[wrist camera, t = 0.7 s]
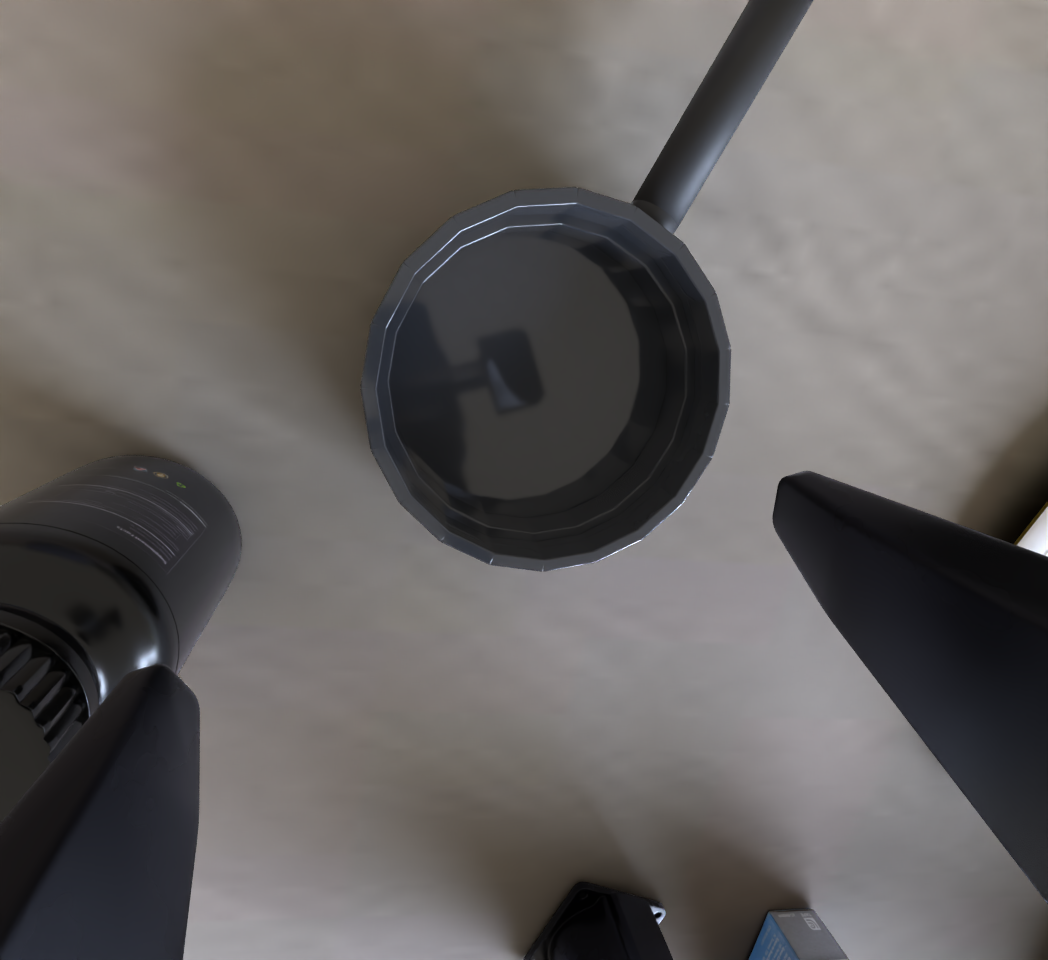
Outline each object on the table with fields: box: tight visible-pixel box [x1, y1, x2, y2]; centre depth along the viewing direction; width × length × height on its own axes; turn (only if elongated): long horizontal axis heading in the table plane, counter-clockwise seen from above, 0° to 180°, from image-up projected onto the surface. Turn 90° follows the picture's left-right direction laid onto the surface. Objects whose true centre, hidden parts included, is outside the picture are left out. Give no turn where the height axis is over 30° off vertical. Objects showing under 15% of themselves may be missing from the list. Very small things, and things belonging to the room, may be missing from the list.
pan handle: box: [632, 0, 813, 234], centre depth 19 cm, size 11×2×2 cm, turn 148°
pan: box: [360, 187, 731, 571], centre depth 21 cm, size 13×13×4 cm
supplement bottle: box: [0, 455, 242, 823], centre depth 16 cm, size 7×7×12 cm
